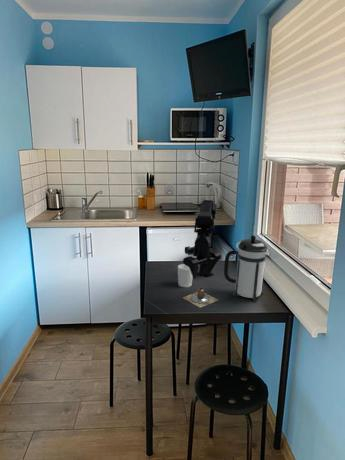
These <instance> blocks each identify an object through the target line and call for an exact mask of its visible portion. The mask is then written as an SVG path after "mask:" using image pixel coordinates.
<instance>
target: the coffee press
mask: <svg viewBox="0 0 345 460" xmlns="http://www.w3.org/2000/svg"><path fill="white" fill-rule="evenodd" d="M237 247H238V250H230V251H228V252H227V253H226V255H225V258H224V267H223V269H224V270H223V275H224V278H225V279H226V280H227V281H228V282H230V283H232V284H234V285H235V291H234V293H233V294H232V296H233V297H236V298H237V297H238V296H241V297H244V298H249V299H251V301H252V302H253V303H257V302H258V301H257V297H260V296H262V295H263V291H262V289H263V288H262V287H263V282H264V281H263V280H264V270H265V263H266V262H265V261H266V258H267V257H268V256H270V253H269V250H268V247H267V245H266V243H265V242H264V241H262V240H260V239H257V238H256V235H254V234H252V235H251V236H250V238H245V239H242V240H241V241H240V242H239V243H238V245H237ZM232 255H237V265H236V266H237V267H236V268H237V269H236V275H235V276H236V277H235V278H232V277H231V276H230V275H229V265H230V258H231V256H232ZM266 256H267V257H266Z"/></svg>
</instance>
